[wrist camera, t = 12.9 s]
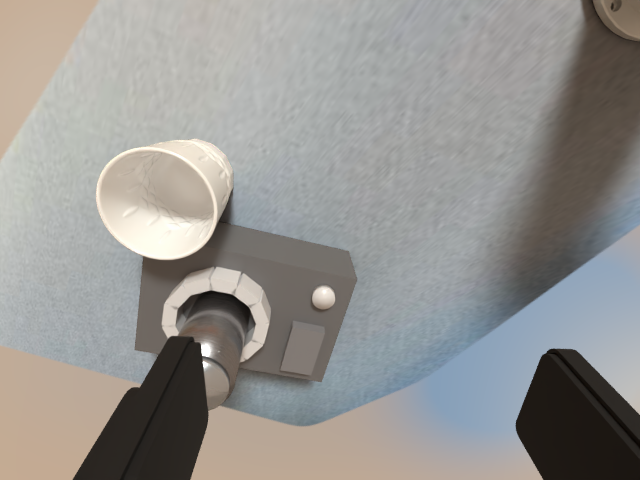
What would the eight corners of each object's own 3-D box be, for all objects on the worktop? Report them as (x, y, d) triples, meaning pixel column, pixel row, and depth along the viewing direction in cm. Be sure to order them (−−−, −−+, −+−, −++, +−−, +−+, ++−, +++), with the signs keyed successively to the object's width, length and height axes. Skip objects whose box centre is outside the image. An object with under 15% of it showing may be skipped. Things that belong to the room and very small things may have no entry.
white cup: (193, 230, 35) (154, 279, 26) (135, 163, 32) (69, 191, 23) (257, 187, 34) (240, 222, 24) (202, 113, 31) (161, 122, 22)
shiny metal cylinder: (219, 275, 30) (188, 344, 22) (262, 309, 32) (248, 386, 24) (182, 310, 32) (139, 388, 23) (225, 342, 33) (200, 426, 25)
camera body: (348, 251, 37) (360, 291, 29) (318, 343, 41) (322, 397, 34) (170, 210, 34) (134, 242, 27) (158, 313, 38) (124, 365, 31)
